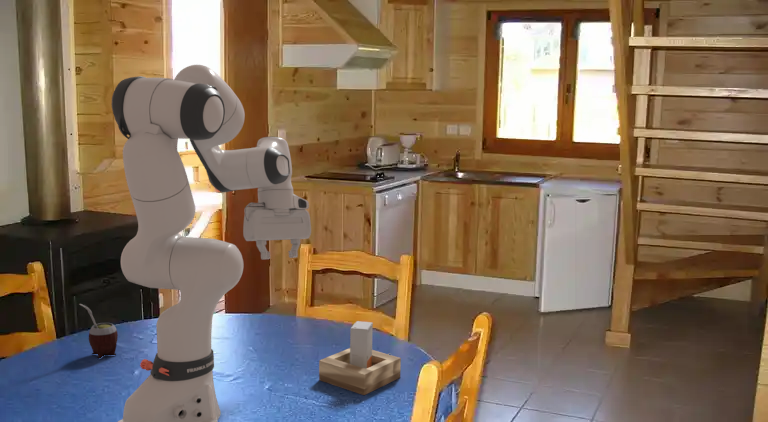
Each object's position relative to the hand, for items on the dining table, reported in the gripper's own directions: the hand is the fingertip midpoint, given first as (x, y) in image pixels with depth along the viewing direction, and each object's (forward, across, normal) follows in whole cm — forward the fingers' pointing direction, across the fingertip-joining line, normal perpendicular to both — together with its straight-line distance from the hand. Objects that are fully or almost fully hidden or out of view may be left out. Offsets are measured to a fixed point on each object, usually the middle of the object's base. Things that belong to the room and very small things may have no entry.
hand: (279, 258), depth 188 cm
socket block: (+30, +9, -15) cm, 35 cm away
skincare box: (+29, +10, -16) cm, 34 cm away
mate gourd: (+22, -22, +45) cm, 55 cm away
